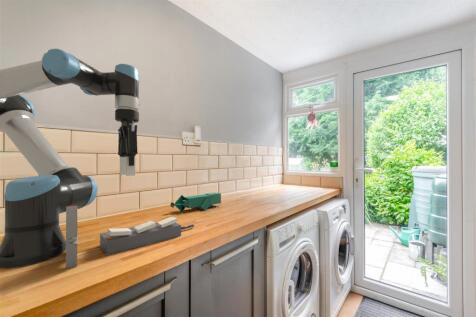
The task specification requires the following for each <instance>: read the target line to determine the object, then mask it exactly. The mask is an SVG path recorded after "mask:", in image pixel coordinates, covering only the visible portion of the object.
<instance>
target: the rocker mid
mask: <svg viewBox="0 0 476 317" xmlns="http://www.w3.org/2000/svg"><path fill="white" fill-rule="evenodd" d="M155 226H156V222H155V221H153V220H149V221H146V222H143V223H141V224H138V225H136V226H133V227H134V231H136V232H137V233H140V232H143V231H145V230H148V229H150V228H153V227H155Z"/></svg>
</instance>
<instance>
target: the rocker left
mask: <svg viewBox="0 0 476 317" xmlns="http://www.w3.org/2000/svg"><path fill="white" fill-rule="evenodd" d="M129 228H130V227H126V228H125V227H124V228H121V227H120V228H118V227H117V228H108V229H107V231H106V232H107V233H108V234H109V235H110V236H118V235H131V234H132V231H131V230H130V229H129Z"/></svg>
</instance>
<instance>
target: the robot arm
mask: <svg viewBox="0 0 476 317" xmlns="http://www.w3.org/2000/svg"><path fill="white" fill-rule="evenodd" d="M139 78H140V77H139V70H138V69H137V68H136V67H135V66H133V65H130V64H128V63H118V64H115V66H114V71H112V72H111V71H110V72H102V71H99V70H98V69H96V68H95V67H93V66H91V65H89V64H87V63H85V62H84V61H83V60H82V59H79V58H78V57H76V56H74V55H73V54H71V53H69V52H66V51H64V50H63V49H61V48H50V49H48V50H47V52H45V53H43V55H42V58H41V60H37V61H34V62H29V63H24V64H20V65H16V66H11V67H7V68H3V69H0V132H3V133H5V134H6V136H7V137H8V139H9V140H10V141H11V142H12V143H13V145H14V146H15V147H16V148H17V149H18V151H19V152H20V154H22V156H23V157H24V158H25V160H26V161H27V162H28V164H29V165H30V166H31V167H32V168H33V170H34V171H35V172H36V173H37V175H36V176H26V177H21V178H16V179H13V180H11V181H9V182H8V183H7V184H6V185H5V193H4V196H3V199H4V236H3V237H2V240H1V242H0V268H2V269H3V268H6V269H7V268H19V267H24V266H29V265H33V264H34V265H35V264H38V263H41V262H45V261H48V260H50V259H52V258H55V257H58V256H60V255H61V254H63V253H64V252H66V237H64V234H63V232H62V229H61V227H60V214H63V213H66V207H68V206H69V205H75V206H77V210H79V209H82V208H84V207H87V206H89V205H91V204H92V203H93V202H94V201H95V200H96V198H97V197H98V196H97V195H98V190H99V189H98V188H99V187H98V184H97V182H96V180H95V179H94V178H93V177H91V176H88V175H83V174H82V173H81V171H79V170H78V168H76V167H75V166H69V165H68V164H67V162H66V161H65V160H64V158H63V157H62V156H61V155H60V154H59V153H58V151H57V150H56V149H55V147H54V146H53V145H52V144H51V142H50V141H49V140H48V139H47V138H46V137H45V135H44V134H43V133H42V132H41V130H40V129H39V128H38V126H37V125H36V124H35V123H34V121H35V115H36V112H34V111H35V107H34V105H33V103H32V101H31V100H30V99H28V98H26V97H25V96H23V95H24V94H28V93H33V92H37V91H42V90H46V89H51V88H54V87H59V86H64V85H68V84H72V85H75V86H77V87H79V88H80V90H81V91H82V92H83V93H84V94H85V95H89V96H107V95H108V96H109V95H114V108H115V110H114V120H115V121H116V122H120V124H121V125H120V126H119V128H118V130H117V131H118V145H117V148H118V149H117V155H118V156H119V176H128V177H130V176H131V177H132V176H136V155H138V134H137V133H138V132H137V131H138V125H137V123H138V122H140V113H139V107H140V105H141V103H140V101H139V98H140V97H139V90H140V88H139V87H140V86H139V85H140V84H139V83H140V79H139Z"/></svg>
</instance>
